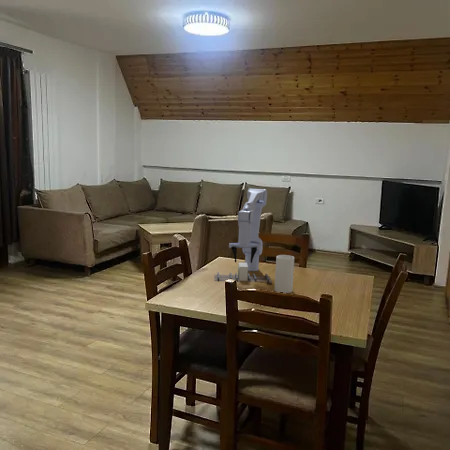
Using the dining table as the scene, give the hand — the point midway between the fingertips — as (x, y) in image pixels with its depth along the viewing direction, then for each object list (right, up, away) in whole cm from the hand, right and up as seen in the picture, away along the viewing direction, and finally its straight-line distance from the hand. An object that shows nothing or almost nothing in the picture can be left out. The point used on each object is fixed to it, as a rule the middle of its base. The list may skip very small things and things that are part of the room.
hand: (243, 262), depth 224 cm
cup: (+18, -12, -12) cm, 25 cm away
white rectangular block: (0, -8, +1) cm, 8 cm away
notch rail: (0, -9, +2) cm, 9 cm away
